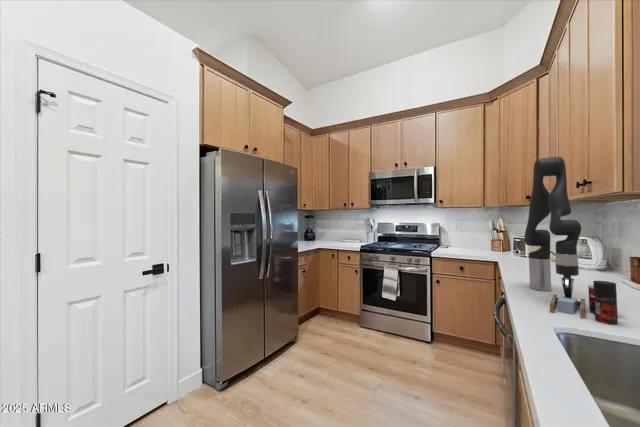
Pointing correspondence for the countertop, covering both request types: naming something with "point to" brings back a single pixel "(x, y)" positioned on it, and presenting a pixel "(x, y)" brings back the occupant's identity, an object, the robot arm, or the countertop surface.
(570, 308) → the block
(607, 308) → the deodorant
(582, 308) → the channel
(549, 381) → the countertop surface
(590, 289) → the canned food
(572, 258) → the robot arm
